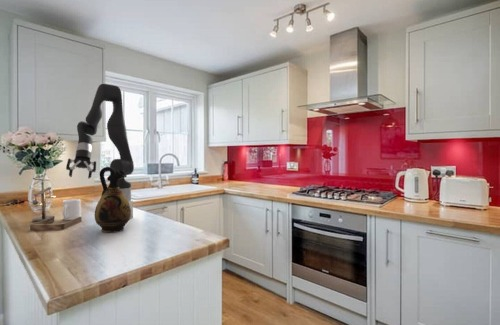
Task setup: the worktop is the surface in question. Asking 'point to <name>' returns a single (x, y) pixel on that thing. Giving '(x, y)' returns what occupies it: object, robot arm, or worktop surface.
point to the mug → (71, 209)
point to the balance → (36, 203)
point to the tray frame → (47, 226)
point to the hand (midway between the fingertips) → (80, 177)
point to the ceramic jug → (112, 203)
